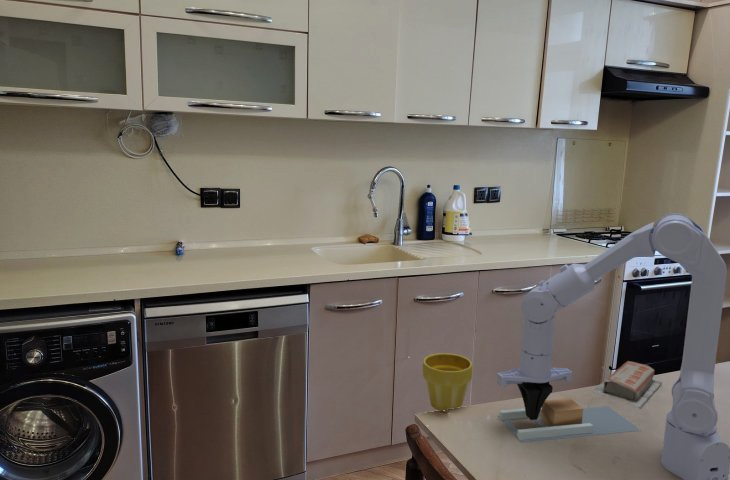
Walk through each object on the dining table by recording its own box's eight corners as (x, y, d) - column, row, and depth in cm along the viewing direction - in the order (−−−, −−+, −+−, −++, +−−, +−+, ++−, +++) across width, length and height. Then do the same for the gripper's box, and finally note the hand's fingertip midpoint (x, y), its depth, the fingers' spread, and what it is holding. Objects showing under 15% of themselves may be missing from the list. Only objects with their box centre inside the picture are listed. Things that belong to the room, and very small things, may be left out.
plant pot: (413, 397, 118) (415, 354, 116) (456, 391, 121) (458, 350, 119) (433, 420, 108) (435, 373, 106) (479, 413, 111) (482, 368, 109)
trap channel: (640, 435, 104) (642, 423, 103) (521, 447, 98) (522, 434, 98) (607, 410, 113) (608, 399, 113) (497, 420, 108) (498, 408, 108)
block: (581, 428, 104) (583, 408, 103) (553, 430, 103) (554, 411, 102) (568, 416, 108) (569, 398, 107) (540, 419, 107) (542, 400, 106)
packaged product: (619, 355, 132) (664, 367, 126) (617, 374, 133) (661, 387, 126) (592, 377, 119) (640, 391, 113) (590, 397, 120) (638, 413, 113)
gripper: (559, 340, 107) (554, 404, 109) (491, 344, 104) (487, 410, 106) (580, 354, 100) (574, 421, 102) (508, 358, 97) (503, 428, 99)
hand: (531, 417), depth 104 cm, fingers closed
